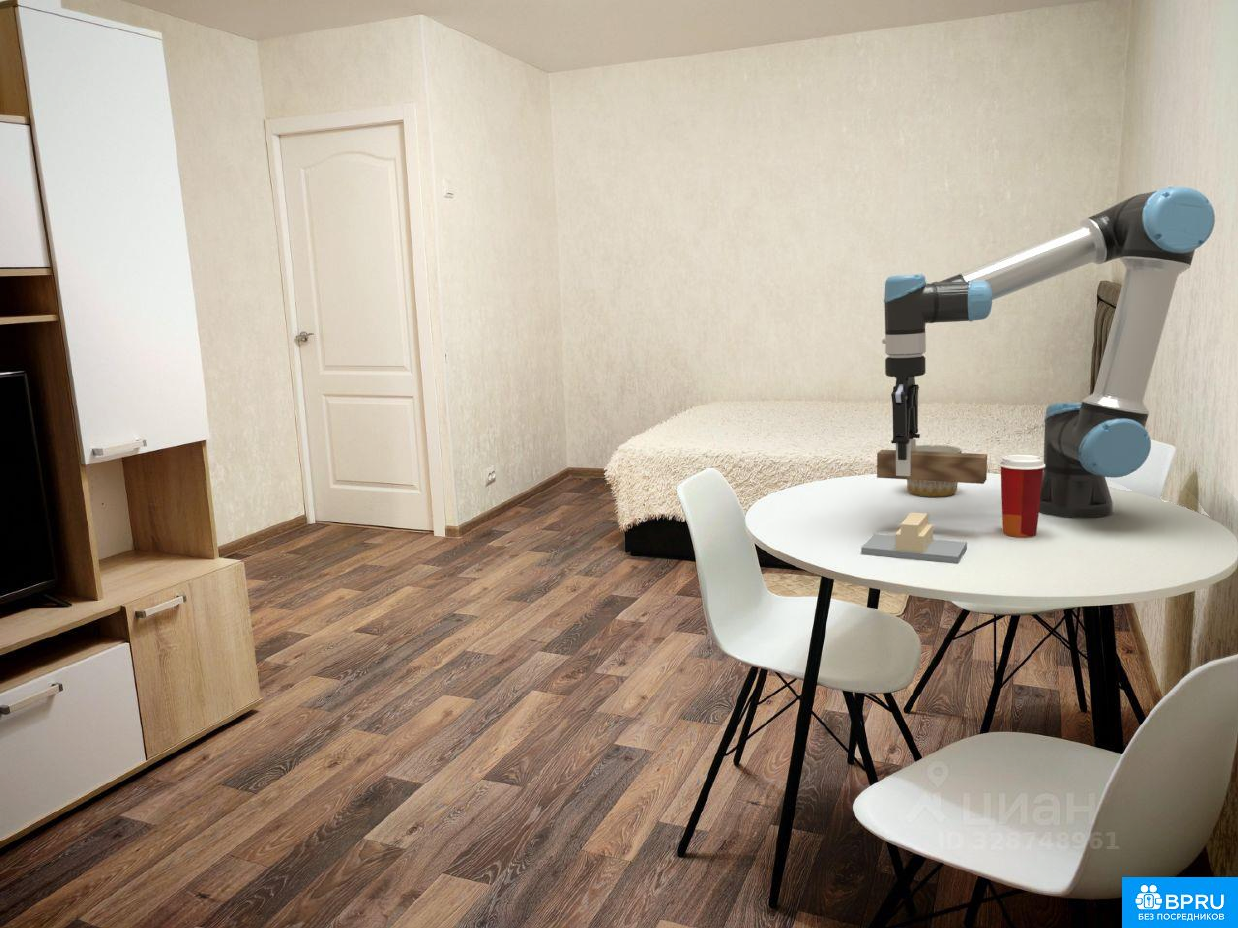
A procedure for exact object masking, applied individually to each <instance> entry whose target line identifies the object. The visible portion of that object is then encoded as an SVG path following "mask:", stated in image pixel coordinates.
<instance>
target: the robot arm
mask: <svg viewBox="0 0 1238 928" xmlns="http://www.w3.org/2000/svg"><path fill="white" fill-rule="evenodd" d="M1215 222H1216V215H1215V211H1214V207H1213V205H1212V203H1211V202H1210V201H1209V199H1208V198H1207V196H1205V195H1204V194H1203V193H1202V192H1200V191H1199V190H1198V189H1197V190H1196V189H1194V188H1191V187H1186V186H1177V187H1171V186H1169V187H1164V188H1161V189H1159V190H1154V191H1151V192H1146V193H1145V192H1144V193H1140V194H1136V195H1134V196H1131V197H1128V198H1127V199H1125V200H1122V201H1121V202H1119V203H1116V204H1115V205H1113V206H1111V207H1109V208H1106V209H1105V210H1103V211H1100V212H1099V213H1096V214H1094V215H1092V216H1089V217H1087V218H1084V219H1082V221H1081V222H1080V225H1079V226H1078V227H1075V228H1073V229H1070V230H1067V231H1064V232H1062V233H1060V234H1057V235H1055V236H1052V237H1050V238H1046V239H1045V240H1042V241H1039V242H1037V243H1035V244H1031V245H1029V246H1027V247H1024V248H1022V249H1019V250H1016V251H1014V252H1012V253H1011V252H1010V253H1009V254H1006V255H1004V256H1003V255H1002V257H999V258H996V259H994V260H991V261H989V262H986V263H983V264H981V265H978V266H976V267H974V268H971V269H969V270H965V271H964V272H960V273H959V274H956V275H953V276H950V277H948V278H946V279H944V280H940V281H934V282H931V283H927V281H926V276H925V275H924V274H923V273H920V274H904V275H902V274H900V275H892V276H891V275H890V276H889V277H888V278H886V280H885V282H884V295H883V296H884V298H883V305H884V334H885V335H884V339H882V341H881V343H882V344H883V345H885V346H884V348H885V349H884V350H885V351H884V353H885V355H887V357H885V359H884V370H885V372H884V374H885V376H887V377H888V378H895V386H892V387H893V388H892V392H891V395H890V397H891V405H892V408H891V409H892V439H891V440H890V441H891V442H890V443H891V444H895V450H896V476H911V451H916V445H917V442H916V441H917V440H916V439H920V437H921V434H920V433H918V432H919V425H918V424H919V422H918V421H919V416H918V415H919V413H918V412H919V404H918V403H919V400H918V399H919V388H920V386H919V384H916V379H915V377H922V376H924V375H925V374H926V357H925V356H924V354H925V353H926V351H927V350H926V349H927V348H926V347H927V346H926V345H927V344H926V343H927V341H926V340H927V338H926V334H927V333H926V325H927V324H934V323H956V322H973V321H982V320H986V319H987V318H988V317H989V316H990V313H991V312H992V307H993V301H994V300H996V299H999V298H1002V297H1005V296H1008V295H1009V294H1012V293H1014V292H1017V291H1020V290H1023V289H1025V288H1028V287H1031V286H1034V285H1036V284H1038V283H1040V282H1043V281H1046V280H1049V279H1052V278H1053V277H1056V276H1059V275H1062V274H1065V273H1067V272H1070V271H1072V270H1075V269H1078V268H1080V267H1084V266H1085V265H1088V264H1090V263H1094V264H1096V265H1103V264H1105V263H1108V262H1110V261H1112V260H1116V259H1119V260H1120V262H1121V263H1122V264H1123V266H1124V267H1125V274H1124V278H1123V280H1122V286H1121V288H1120V292H1119V295H1118V299H1117V304H1116V308H1115V311H1114V314H1113V319H1112V323H1111V326H1110V330H1109V333H1108V337H1107V341H1106V344H1105V348H1104V353H1103V355H1102V360H1101V364H1100V367H1099V371H1098V374H1097V378H1096V382H1095V386H1094V389H1093V393H1092V394H1089V396H1087V397H1084V398H1083V399H1082V401H1081V402H1060V403H1059V402H1056V403H1051V404H1049V405H1048V406H1047V407H1046V409H1045V416H1044V419H1043V421H1044V434H1043V435H1044V437H1043V438H1044V439H1043V441H1044V442H1043V463H1044V464H1045V467H1044V468H1043V477H1042V486H1041V496H1040V505H1039V513H1042V514H1046V515H1050V516H1057V517H1064V518H1077V519H1082V518H1083V519H1084V518H1086V519H1087V518H1100V517H1105V516H1109V515H1111V514H1112V513H1113V505H1114V504H1113V498H1112V495H1111V493H1110V489H1109V485H1108V483H1107V482H1108V481H1107V480H1106V479H1107V478H1113V479H1114V478H1123V477H1125V476H1128V475H1131V474H1132V473H1134V472H1136V471H1137V470H1138V469H1140V468H1141V467H1142V466H1143V464H1144V463H1145V462H1146V461H1147V459H1148V458H1149V456H1150V453H1151V450H1152V449H1151V448H1152V440H1151V436H1150V434H1149V432H1148V431H1147V429H1146V425H1147V421H1148V418H1149V414H1150V411H1149V410H1148V408H1147V407H1146V405H1145V404H1144V398H1145V395H1146V391H1147V388H1148V384H1149V381H1150V377H1151V373H1152V370H1153V366H1154V362H1155V360H1156V359H1155V358H1156V355H1157V352H1158V348H1159V345H1160V341H1161V337H1162V333H1163V331H1164V326H1165V323H1166V320H1167V315H1168V313H1169V309H1170V305H1171V302H1172V299H1173V295H1174V291H1175V288H1176V285H1177V284H1176V283H1177V280H1178V277H1179V276H1180V274H1182V273H1183V272H1185V271H1187V270H1188V269H1190V267H1191V265H1192V262H1193V258H1194V255H1195V252H1196V249H1198V248H1200V247H1201V246H1202V245H1203V244H1204V243H1206V241H1208V240H1209V238H1210V237H1211V235H1212V233H1213V231H1214V228H1215V225H1216V224H1215Z"/></svg>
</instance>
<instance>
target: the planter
mask: <svg viewBox="0 0 1238 928" xmlns="http://www.w3.org/2000/svg"><path fill="white" fill-rule="evenodd" d="M962 450H963V449H961V448H960V447H958V446H953V445H944V444H919V445H918V444H916V451H925V452H948V453H963V452H962ZM906 483H907V490H908V492H909V493H911V494H912V495H914V496H919V497H926V498H942V497H944V498H945V497H949V496H952V495H954V494H956V492H957V491H958V486H959V485H958V483H959V482H942V481H924V480H907V479H906Z"/></svg>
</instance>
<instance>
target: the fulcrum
mask: <svg viewBox="0 0 1238 928" xmlns="http://www.w3.org/2000/svg"><path fill="white" fill-rule="evenodd" d="M928 518H929V515H928V513H923V512H910V513H909V514H908V516H906V518H905V519H904V520H903V521H902V522H901V523H900V528H899V530H897V532H895V533H894V535H892V534H891V535H888V534H879V533H878V534H877V533H874V534H873V535H872V536H871V537H870V538H869V539H868V540H867V541H866V542H865V543H864V544H863V545H862V546H861V549H860V550H861V551H860V554H862V555H870V556H871V555H872V556H880V557H882V556H883V557H891V558H899V559H901V558H902V559H911V560H922V561H930V562H931V561H932V562H940V563H950V564H952V563H953V564H959V562H960V561H961V559H962V558H963V555H965V552H966V551H967V549H968V542H967V541H955V540H946V539H944V540H943V539H936V538H934V524H931V523H928V522H929V519H928Z"/></svg>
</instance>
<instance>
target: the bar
mask: <svg viewBox="0 0 1238 928" xmlns="http://www.w3.org/2000/svg"><path fill="white" fill-rule="evenodd" d="M987 470H988V454H987V453H973V452H972V453H965V452H961V453H948V452H925V451H911V476H896V449H881V450H880V451H878V452H877V453H876V478H877V479H891V480H892V479H895V480H906V481H907V480H924V481H942V482H958V483H962V484H977V485H978V484H980V485H984V484H985V482H986V481H987V477H988V476H987V474H988V472H987Z"/></svg>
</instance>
